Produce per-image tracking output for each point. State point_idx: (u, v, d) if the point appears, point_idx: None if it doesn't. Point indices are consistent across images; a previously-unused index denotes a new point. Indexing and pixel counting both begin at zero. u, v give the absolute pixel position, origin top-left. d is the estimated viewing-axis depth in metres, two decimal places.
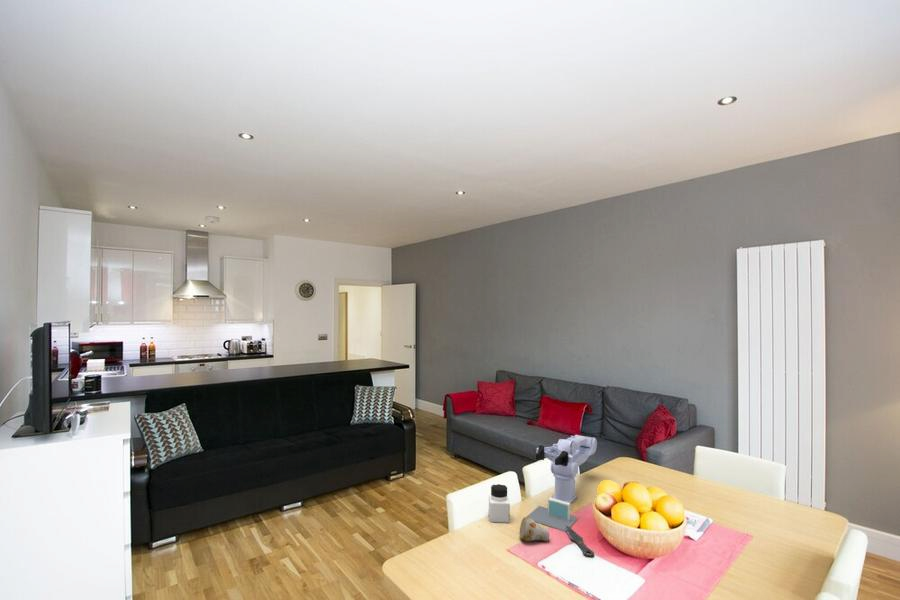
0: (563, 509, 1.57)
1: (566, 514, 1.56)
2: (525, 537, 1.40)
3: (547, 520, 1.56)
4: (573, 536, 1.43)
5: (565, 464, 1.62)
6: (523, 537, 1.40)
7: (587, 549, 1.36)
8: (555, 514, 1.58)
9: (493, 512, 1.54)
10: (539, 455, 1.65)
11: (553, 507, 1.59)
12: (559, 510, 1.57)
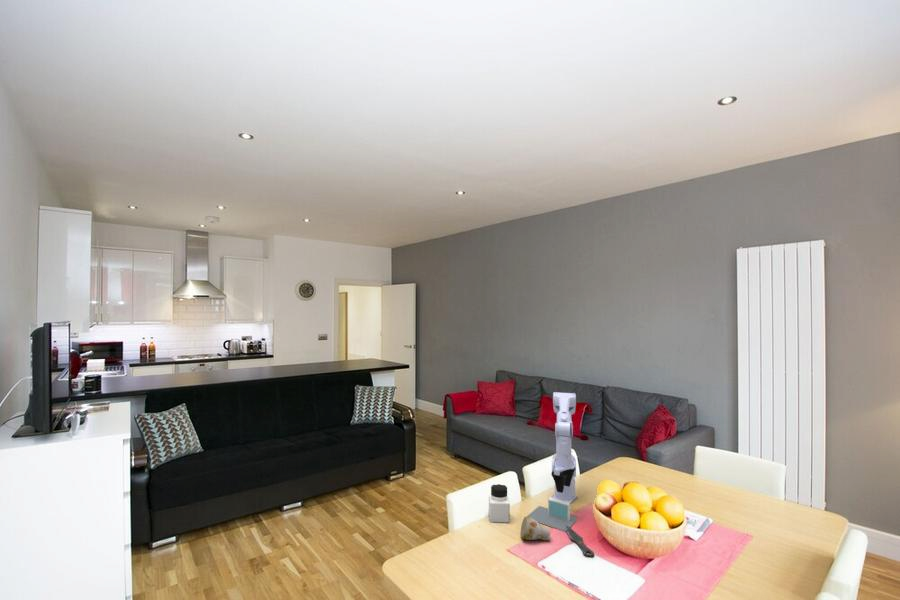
0: (563, 509, 1.57)
1: (566, 514, 1.56)
2: (526, 536, 1.40)
3: (547, 520, 1.56)
4: (573, 536, 1.43)
5: None
6: (524, 536, 1.41)
7: (587, 549, 1.36)
8: (555, 514, 1.58)
9: (493, 512, 1.54)
10: None
11: (553, 507, 1.59)
12: (559, 510, 1.57)
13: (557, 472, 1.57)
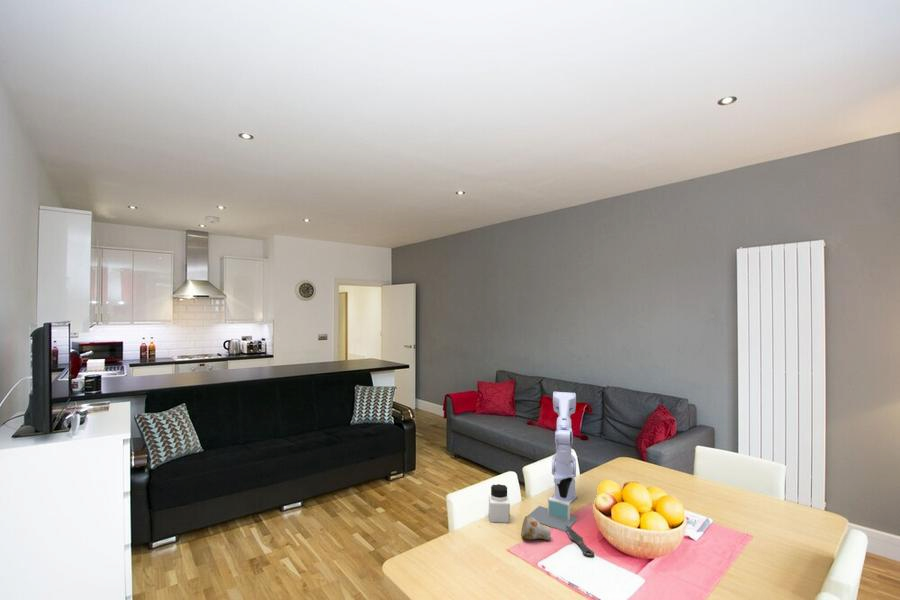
0: (563, 509, 1.57)
1: (566, 514, 1.56)
2: (526, 535, 1.41)
3: (547, 520, 1.56)
4: (573, 536, 1.43)
5: None
6: (524, 535, 1.41)
7: (587, 549, 1.36)
8: (555, 514, 1.58)
9: (493, 512, 1.54)
10: None
11: (553, 507, 1.59)
12: (559, 510, 1.57)
13: (557, 480, 1.57)
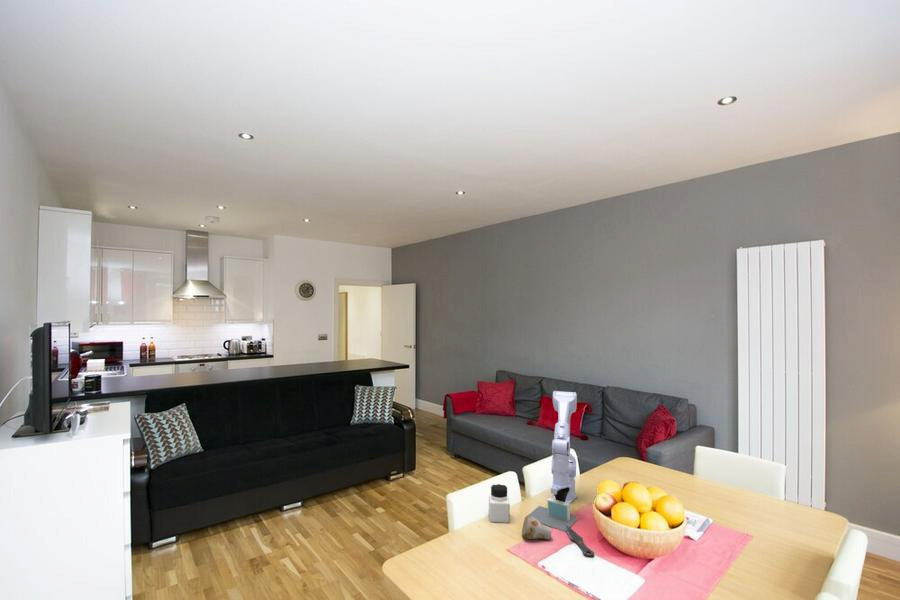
0: (563, 510, 1.56)
1: (566, 514, 1.56)
2: (526, 535, 1.41)
3: (547, 520, 1.56)
4: (573, 536, 1.43)
5: None
6: (525, 535, 1.41)
7: (587, 549, 1.36)
8: (555, 514, 1.58)
9: (493, 512, 1.54)
10: None
11: (553, 508, 1.58)
12: (559, 510, 1.57)
13: (554, 491, 1.54)
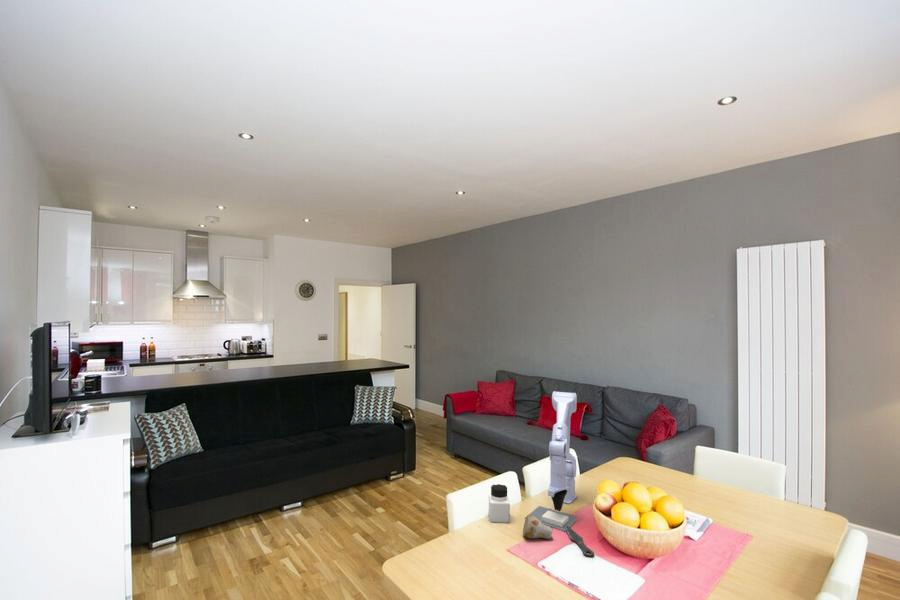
0: None
1: None
2: (527, 534, 1.42)
3: None
4: (573, 536, 1.43)
5: None
6: (525, 534, 1.42)
7: (587, 549, 1.36)
8: None
9: (493, 512, 1.54)
10: None
11: None
12: None
13: (551, 493, 1.52)
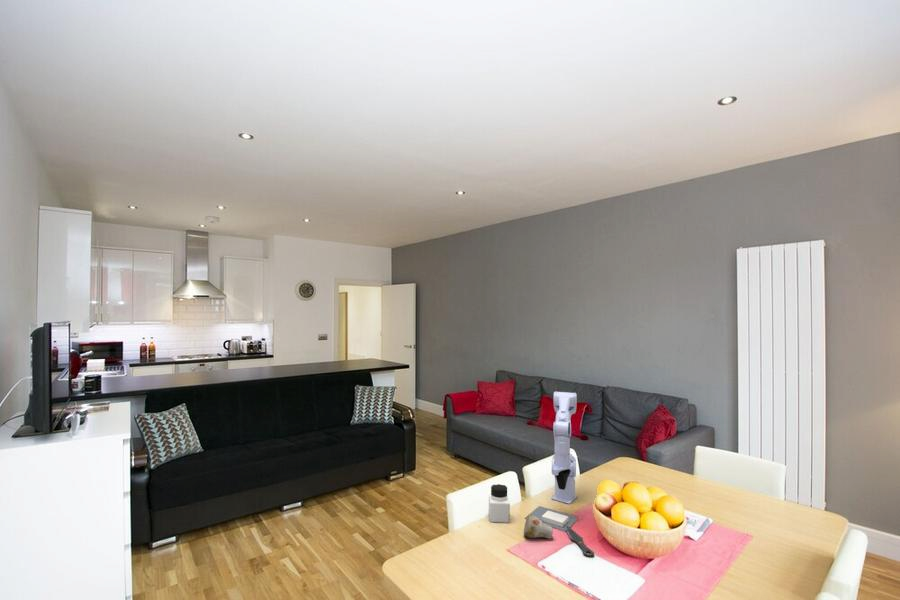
0: None
1: None
2: (528, 533, 1.42)
3: None
4: (573, 536, 1.43)
5: None
6: (526, 533, 1.42)
7: (587, 549, 1.36)
8: None
9: (493, 512, 1.54)
10: None
11: None
12: None
13: (555, 472, 1.56)
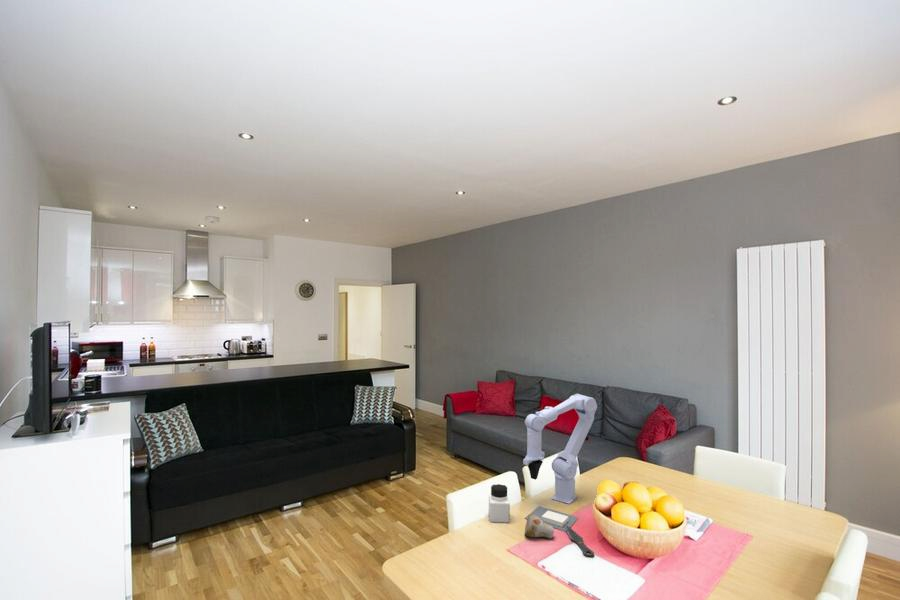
0: None
1: None
2: (528, 533, 1.42)
3: None
4: (573, 536, 1.43)
5: None
6: (526, 533, 1.43)
7: (587, 549, 1.36)
8: None
9: (493, 512, 1.54)
10: None
11: None
12: None
13: (526, 462, 1.66)
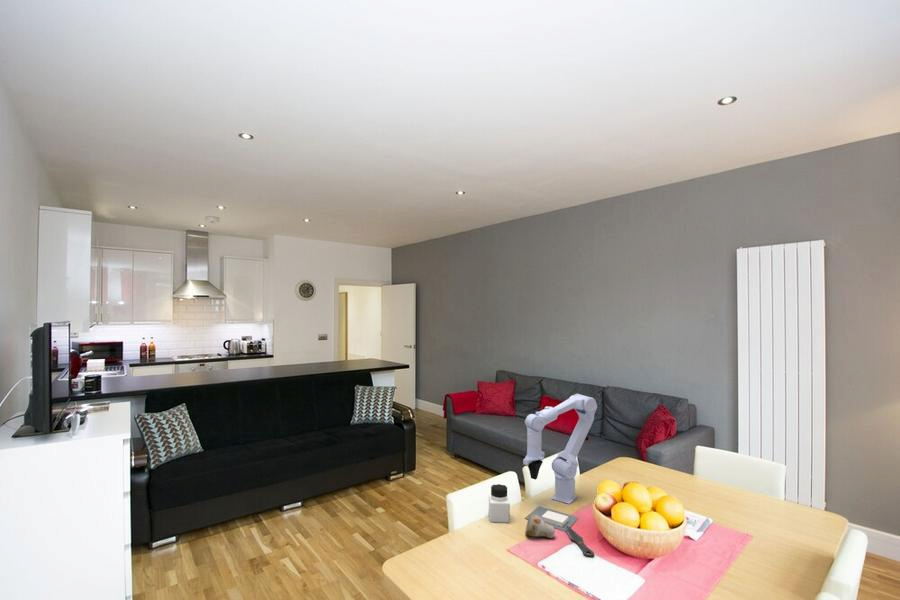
0: None
1: None
2: (529, 532, 1.43)
3: None
4: (573, 536, 1.43)
5: None
6: (527, 532, 1.43)
7: (587, 549, 1.36)
8: None
9: (493, 512, 1.54)
10: None
11: None
12: None
13: (526, 462, 1.66)
